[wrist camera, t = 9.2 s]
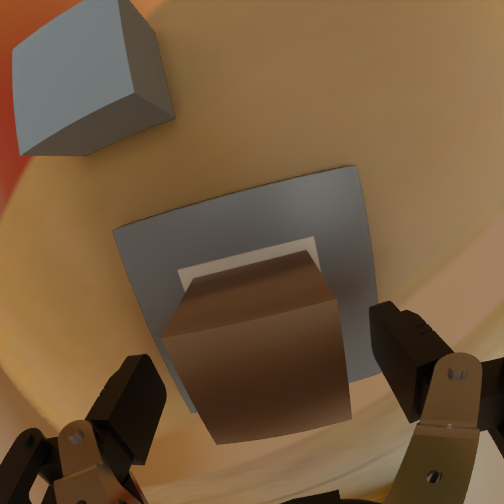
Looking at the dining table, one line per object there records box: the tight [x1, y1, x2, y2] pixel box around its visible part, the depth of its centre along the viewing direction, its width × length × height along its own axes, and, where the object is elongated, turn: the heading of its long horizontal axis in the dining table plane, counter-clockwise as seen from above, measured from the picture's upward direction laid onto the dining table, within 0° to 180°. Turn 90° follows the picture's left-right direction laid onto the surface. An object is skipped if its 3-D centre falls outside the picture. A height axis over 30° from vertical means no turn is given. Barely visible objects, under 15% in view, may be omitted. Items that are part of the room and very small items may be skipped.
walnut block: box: [161, 250, 352, 445], centre depth 11 cm, size 5×5×5 cm
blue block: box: [12, 0, 176, 156], centre depth 9 cm, size 5×5×5 cm
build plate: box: [112, 165, 381, 413], centre depth 14 cm, size 11×11×1 cm
